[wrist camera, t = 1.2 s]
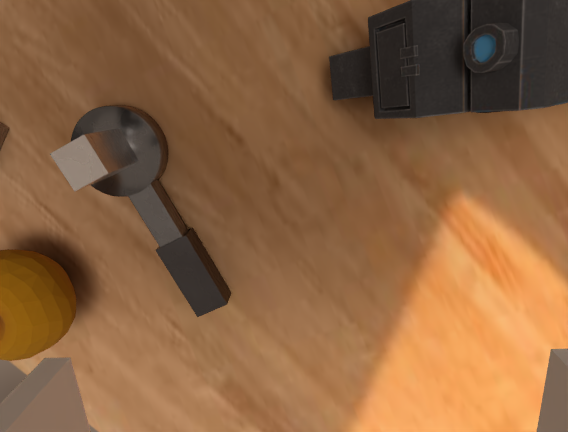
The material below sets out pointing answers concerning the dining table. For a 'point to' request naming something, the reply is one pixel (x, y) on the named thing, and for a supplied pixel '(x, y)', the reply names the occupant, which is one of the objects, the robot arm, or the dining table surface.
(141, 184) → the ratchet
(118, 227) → the dining table surface
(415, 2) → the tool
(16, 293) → the apple
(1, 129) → the lidded square canister
